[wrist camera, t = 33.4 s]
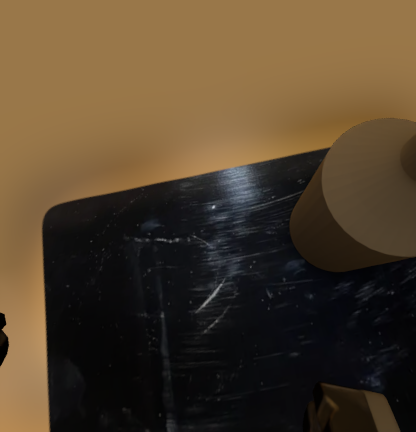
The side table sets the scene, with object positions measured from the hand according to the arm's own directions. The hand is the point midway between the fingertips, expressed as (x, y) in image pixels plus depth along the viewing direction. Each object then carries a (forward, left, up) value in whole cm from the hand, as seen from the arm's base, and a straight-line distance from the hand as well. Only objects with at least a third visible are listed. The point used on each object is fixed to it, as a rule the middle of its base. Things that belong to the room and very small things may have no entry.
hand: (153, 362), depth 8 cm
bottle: (+15, +12, -33) cm, 38 cm away
